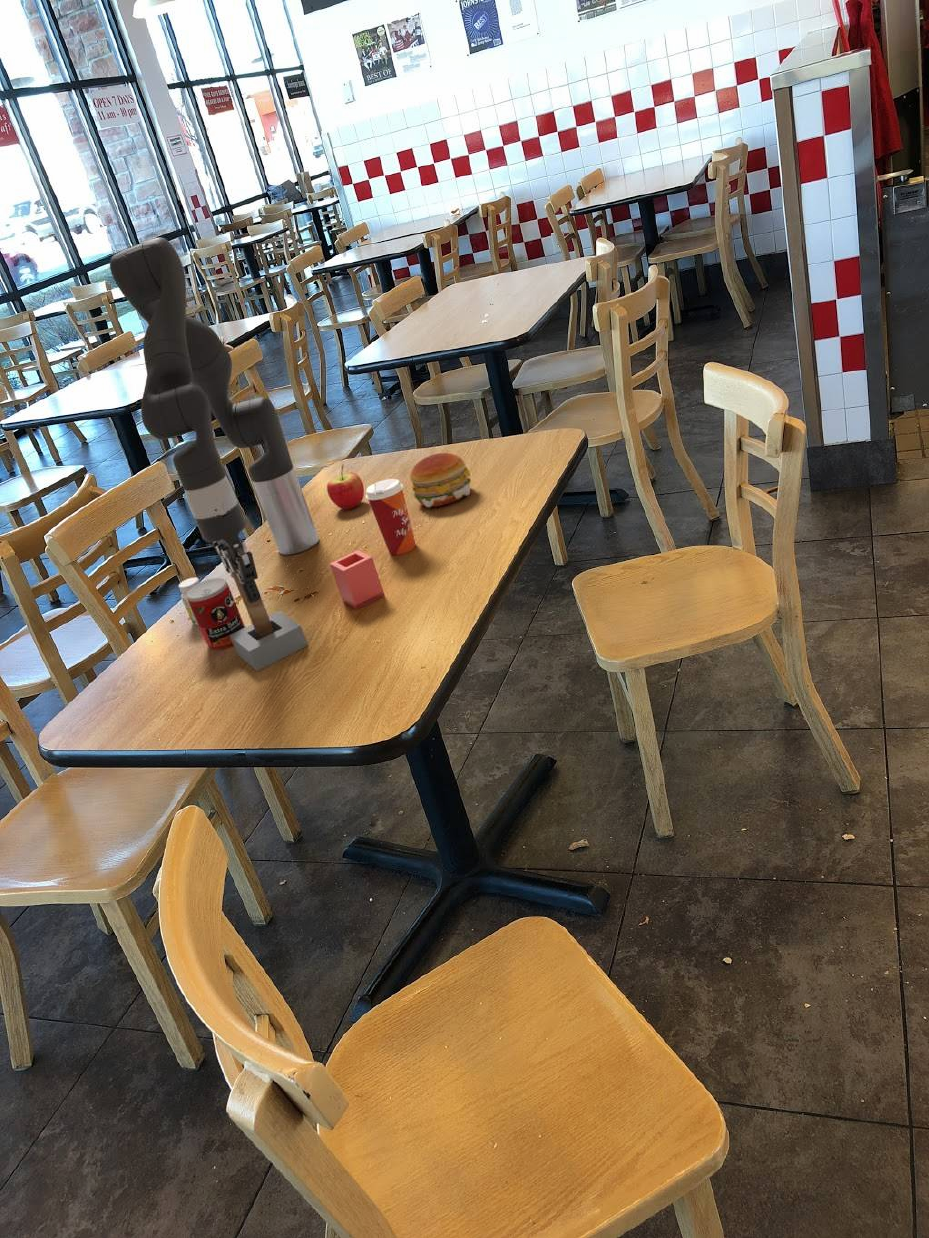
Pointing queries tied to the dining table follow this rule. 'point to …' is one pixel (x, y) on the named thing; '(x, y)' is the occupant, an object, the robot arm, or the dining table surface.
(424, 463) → the burger
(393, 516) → the paper cup
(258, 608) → the dowel
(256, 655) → the holder
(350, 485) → the apple
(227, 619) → the canned food
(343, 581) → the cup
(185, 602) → the supplement bottle
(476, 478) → the dining table surface
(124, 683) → the dining table surface
